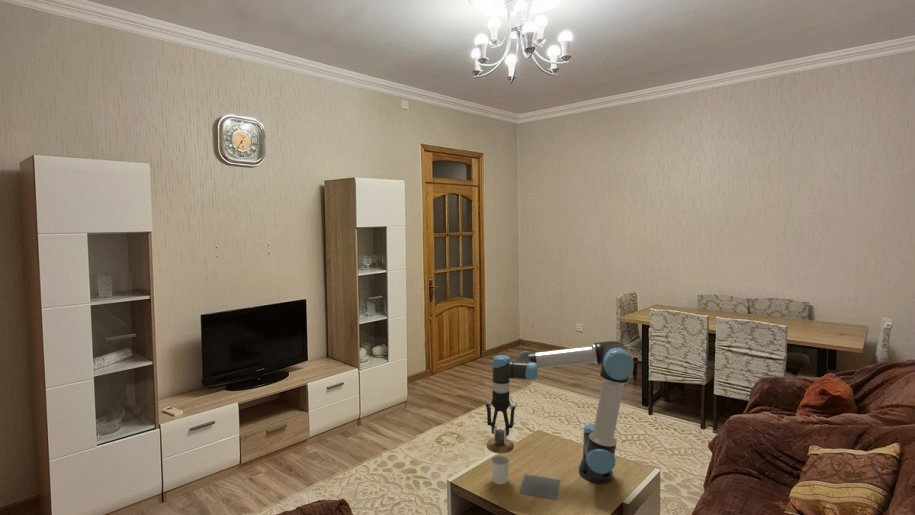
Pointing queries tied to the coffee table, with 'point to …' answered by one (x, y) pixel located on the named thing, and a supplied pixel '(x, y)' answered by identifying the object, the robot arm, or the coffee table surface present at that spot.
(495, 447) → the lid
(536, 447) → the coffee table surface
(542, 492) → the mat
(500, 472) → the white cup
